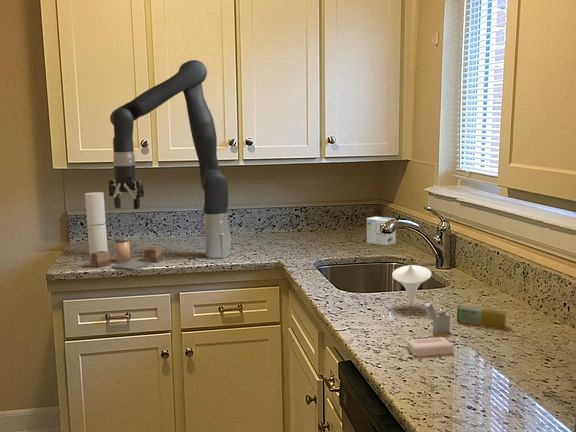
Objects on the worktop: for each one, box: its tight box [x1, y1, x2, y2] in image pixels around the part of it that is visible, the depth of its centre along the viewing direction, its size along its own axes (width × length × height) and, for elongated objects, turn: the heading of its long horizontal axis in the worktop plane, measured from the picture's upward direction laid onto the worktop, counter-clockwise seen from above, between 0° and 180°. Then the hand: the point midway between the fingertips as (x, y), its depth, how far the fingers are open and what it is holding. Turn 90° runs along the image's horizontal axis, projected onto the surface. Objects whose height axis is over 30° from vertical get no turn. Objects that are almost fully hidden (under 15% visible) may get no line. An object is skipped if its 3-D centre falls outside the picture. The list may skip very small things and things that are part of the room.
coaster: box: [111, 259, 152, 271], centre depth 224 cm, size 10×10×1 cm
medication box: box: [456, 304, 507, 329], centre depth 154 cm, size 12×3×4 cm, turn 60°
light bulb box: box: [366, 216, 397, 246], centre depth 255 cm, size 11×7×11 cm, turn 46°
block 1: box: [90, 251, 112, 269], centre depth 226 cm, size 5×5×5 cm
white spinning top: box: [391, 264, 432, 307], centre depth 169 cm, size 10×11×12 cm
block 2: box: [143, 246, 163, 264], centre depth 232 cm, size 5×5×5 cm
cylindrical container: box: [84, 191, 109, 257], centre depth 244 cm, size 7×7×25 cm
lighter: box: [422, 301, 451, 335], centre depth 148 cm, size 7×2×8 cm, turn 116°
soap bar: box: [406, 336, 454, 357], centre depth 137 cm, size 5×9×2 cm, turn 98°
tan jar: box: [114, 236, 131, 264], centre depth 233 cm, size 6×6×9 cm
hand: (127, 208), depth 221 cm, fingers open, 8 cm apart
